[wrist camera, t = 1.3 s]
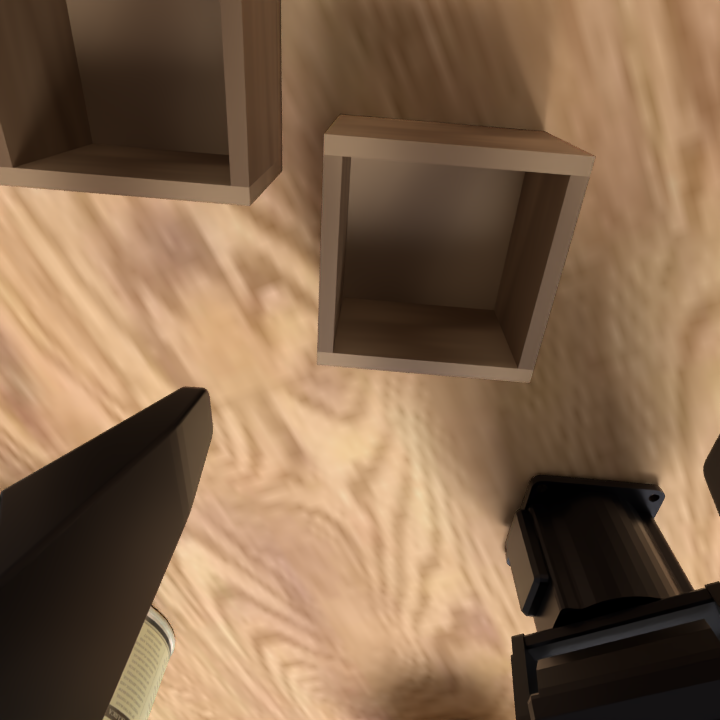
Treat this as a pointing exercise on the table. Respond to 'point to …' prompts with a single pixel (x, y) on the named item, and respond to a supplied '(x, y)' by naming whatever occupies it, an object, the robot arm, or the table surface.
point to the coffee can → (143, 670)
